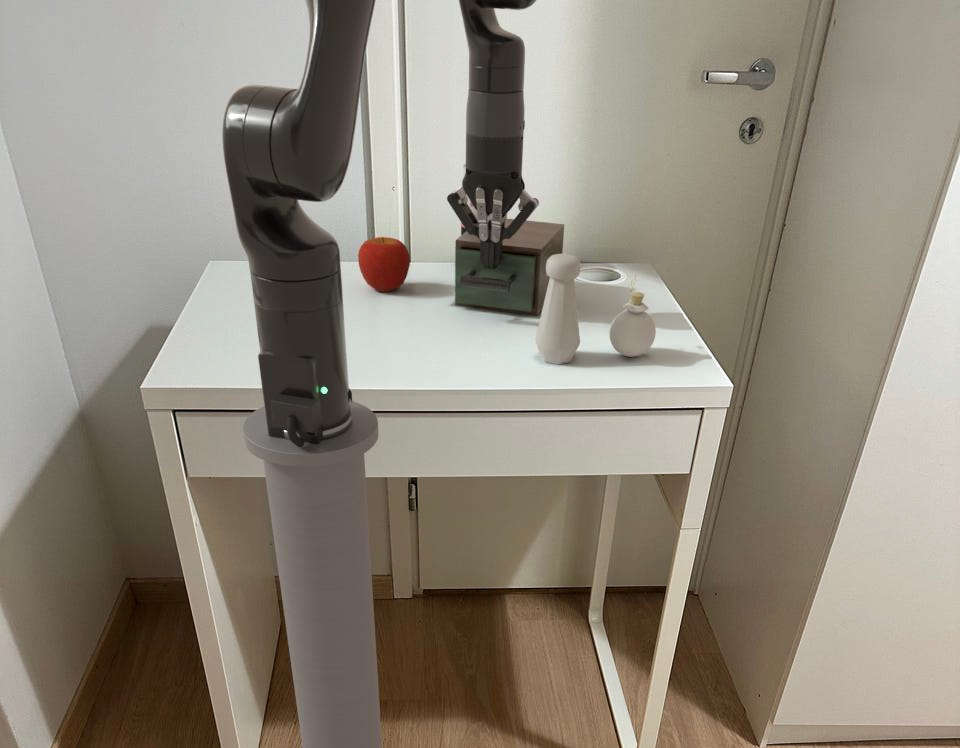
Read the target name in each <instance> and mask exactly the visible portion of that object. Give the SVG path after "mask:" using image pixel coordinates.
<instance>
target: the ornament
mask: <svg viewBox="0 0 960 748" xmlns="http://www.w3.org/2000/svg"><path fill="white" fill-rule="evenodd" d="M636 277H637V274H636V273H635V275H634V277H633V279H631V281H630V284H628V285H629V287H630V288H629V294H630V301H628V302H626V303H625V304H623V306H622V308H623V309H624V310H622V311H621V312H620V313H619V314H618V315H616V316H615V318H614V319H613V320H612V322H611V324H610V328H609V340H610V343H611V346H612V347H613V349H614V350H615V351H616V352H617V353H618V354H619V355H622V356H625V357H629V358H634V357H638V356H641V355H643V354H644V353H647V352H648V351H649V350H650V348H651V347H652V346H653V345H654V342H655V339H656V334H657V333H656V332H657V331H656V330H657V328H656V324H655V322H654V320H653V318H652V316H651V315H650V314H648V312H646V311H648V310H649V306H648V305H647V304H645V303H644V302H643V299H644V297H645V293H643V292H640V291H632V289H633V285H635V283H636V282H637V278H636ZM633 280H634V281H633Z"/></svg>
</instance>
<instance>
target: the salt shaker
mask: <svg viewBox="0 0 960 748" xmlns="http://www.w3.org/2000/svg"><path fill="white" fill-rule="evenodd" d="M581 265H582V264H581V261H580V259H579V258H578V257H577V256H576V255H573V254H568V253H562V254H555V255H552V256H551V257H550V258H549V259H548V260H547V263H546V273H547V275H548V276H550V279H549V283H548V288H547V292H546V296H545V301H544V305H543V308H542V310H541V314H540V318H539V323H538V326H537V331H536V334H535V344H536V347H537V350H538V354H539V357H540V358H541V359H542V360H543V361H544V362H545V363H549V364H554V365H562V364H567V363H570V362H571V361H572V359H573V357H574V355H575V353H576V351H577V350H578V349H579V347H580V343H581V336H580V327H579V318H578V307H577V298H576V287H575V285H576V284H575V279H577V278H578V277H579V276H580V275H581V269H582V268H581V267H582V266H581Z"/></svg>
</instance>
